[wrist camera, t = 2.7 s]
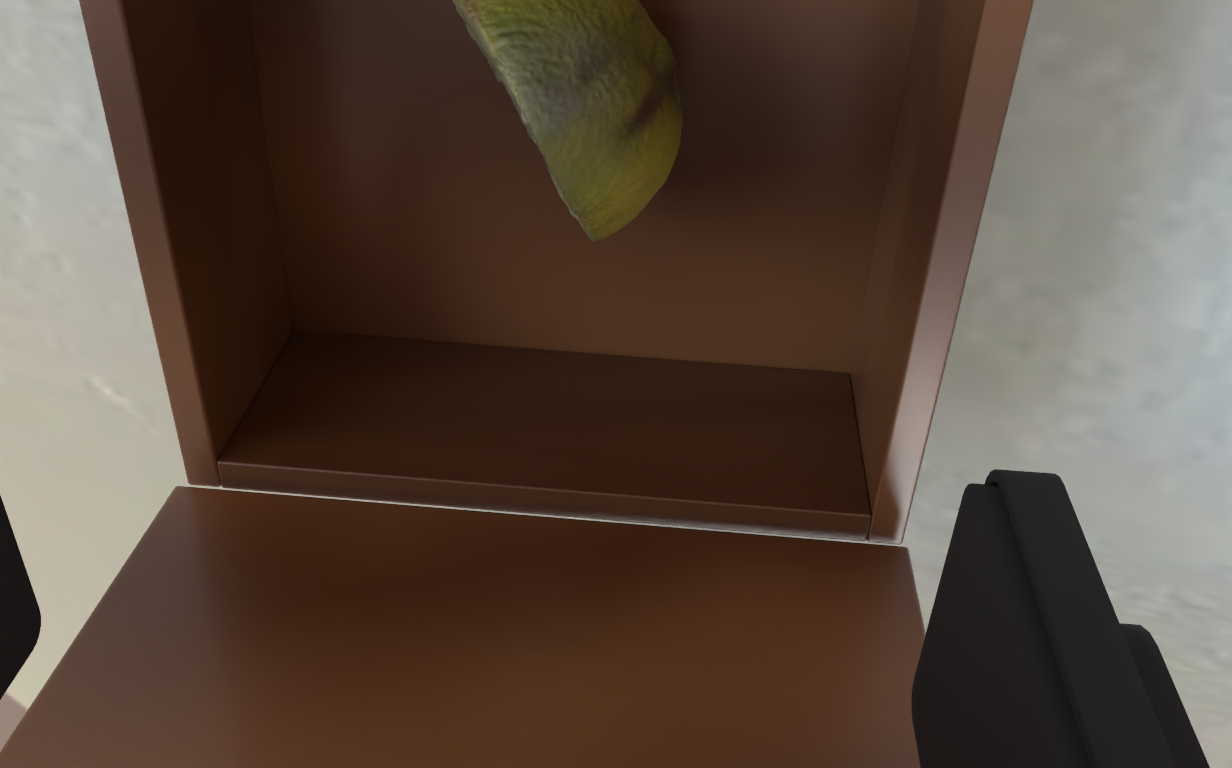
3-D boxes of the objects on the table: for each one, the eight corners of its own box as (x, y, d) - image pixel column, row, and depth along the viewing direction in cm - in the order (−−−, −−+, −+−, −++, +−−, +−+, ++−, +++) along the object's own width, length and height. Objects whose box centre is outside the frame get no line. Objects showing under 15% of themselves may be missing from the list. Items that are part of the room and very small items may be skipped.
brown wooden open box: (158, -442, 19) (-27, -454, 14) (1030, -402, 18) (1132, -401, 14) (278, 336, 28) (187, 485, 23) (872, 383, 27) (902, 545, 23)
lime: (627, 200, 24) (606, 322, 20) (419, 88, 23) (353, 194, 19) (739, 17, 22) (741, 113, 18) (513, -116, 21) (461, -46, 17)
